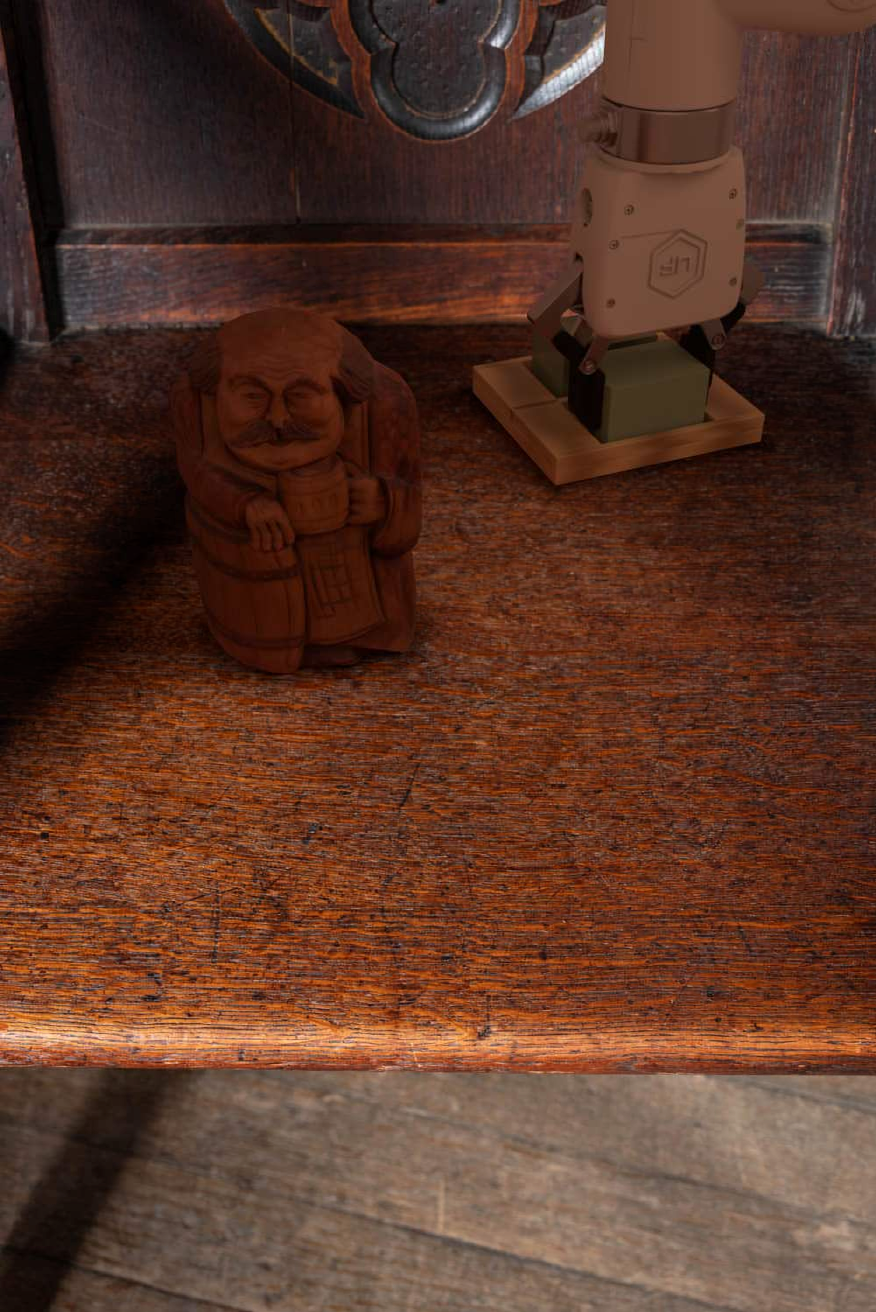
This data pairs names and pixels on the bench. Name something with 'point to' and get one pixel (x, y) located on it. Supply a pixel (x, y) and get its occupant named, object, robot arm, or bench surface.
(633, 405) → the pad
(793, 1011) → the bench surface
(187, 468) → the wooden figurine
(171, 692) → the bench surface
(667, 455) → the frame
